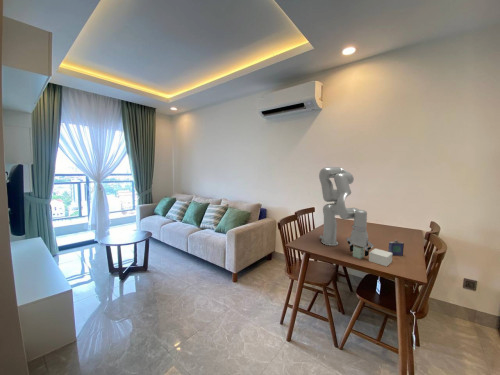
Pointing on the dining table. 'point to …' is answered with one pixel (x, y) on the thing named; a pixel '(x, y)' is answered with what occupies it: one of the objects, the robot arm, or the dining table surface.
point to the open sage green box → (358, 251)
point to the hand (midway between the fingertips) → (358, 253)
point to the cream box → (380, 257)
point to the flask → (396, 248)
